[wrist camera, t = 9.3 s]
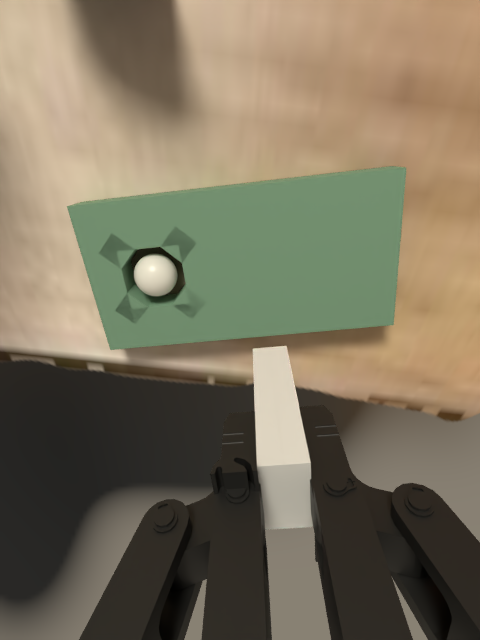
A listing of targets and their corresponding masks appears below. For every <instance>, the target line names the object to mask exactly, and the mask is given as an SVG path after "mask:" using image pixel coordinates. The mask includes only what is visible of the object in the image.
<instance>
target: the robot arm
mask: <svg viewBox="0 0 480 640" xmlns="http://www.w3.org/2000/svg"><path fill="white" fill-rule="evenodd" d="M253 370H254V399H255V411H251V412H238V413H230V414H229V416H228V417H227V419H226V421H225V422H224V427H223V440H222V453H221V459H220V460H218V461H217V462H216V464H215V465H214V466H213V468H212V471H211V474H210V475H211V479H212V485H213V490H214V491H213V492H212V493H211V494H210V495H208V496H207V497H206V498H204V499H202V500H200V501H198V502H195V503H192V504H190V505H187V506H185V505H184V504H183V503H182V502H181V501H178V500H175V499H168V500H164V501H161V502H158V503H157V504H155V505H154V506H152V507H151V508H150V509H149V510H148V511H147V513H146V514H145V515H144V517H143V519H142V521H141V523H140V525H139V527H138V529H137V530H136V532H135V534H134V536H133V538H132V540H131V542H130V544H129V546H128V548H127V549H126V551H125V553H124V555H123V557H122V559H121V561H120V563H119V565H118V566H117V569H116V570H115V572H114V574H113V576H112V578H111V580H110V582H109V584H108V586H107V588H106V589H105V591H104V593H103V595H102V597H101V599H100V601H99V603H98V605H97V606H96V608H95V610H94V612H93V614H92V616H91V618H90V620H89V622H88V624H87V626H86V627H85V629H84V631H83V633H82V635H81V637H80V639H79V640H184V638H185V635H186V632H187V629H188V626H189V622H190V619H191V616H192V613H193V610H194V607H195V603H196V600H197V597H198V594H199V591H200V588H201V584H202V581H203V580H205V579H207V584H206V597H205V608H204V618H203V630H202V640H272V635H271V617H270V599H269V581H268V564H267V547H266V538H265V530H267V529H268V530H269V529H286V528H304V527H314V532H315V555H316V556H315V557H316V558H315V559H316V562H318V565H319V571H320V577H321V583H322V589H323V594H324V600H325V606H326V612H327V617H328V623H329V629H330V635H331V640H413V638H412V636H411V633H410V630H409V627H408V624H407V621H406V618H405V615H404V612H403V609H402V606H401V603H400V600H399V597H398V594H397V591H396V588H395V586H394V582H393V580H394V581H395V583H396V585H397V586H398V588H399V590H400V592H401V593H402V595H403V597H404V599H405V600H406V602H407V604H408V605H409V607H410V609H411V611H412V612H413V614H414V616H415V618H416V619H417V621H418V623H419V625H420V626H421V628H422V630H423V632H424V633H425V635H426V637H427V638H428V640H480V542H479V541H478V540H477V539H476V538H475V536H474V535H473V534H472V533H471V532H470V531H469V530H468V528H467V527H466V526H465V525H464V524H463V523H462V521H461V520H460V519H459V518H458V517H457V516H456V514H455V513H454V512H453V511H452V510H451V509H450V508H449V506H448V505H447V504H446V503H445V502H444V501H443V499H442V498H441V497H440V496H439V495H438V494H436V493H435V492H434V491H433V490H431V489H429V488H427V487H425V486H423V485H418V484H414V483H408V484H402V485H400V486H399V487H397V488H396V489H395V490H394V492H388V491H384V490H379V489H375V488H372V487H369V486H367V485H365V484H364V483H362V482H361V481H360V480H358V479H357V478H356V477H355V476H354V474H353V473H352V471H351V469H350V467H349V464H348V461H347V457H346V454H345V451H344V448H343V445H342V442H341V439H340V436H339V433H338V430H337V427H336V424H335V421H334V418H333V415H332V413H331V412H330V411H329V410H328V409H327V408H326V407H325V406H324V405H319V406H306V407H299V404H298V399H297V395H296V390H295V385H294V380H293V375H292V370H291V366H290V361H289V356H288V351H287V346H278V347H266V348H255V349H253ZM391 576H392V577H391ZM392 578H393V579H392Z"/></svg>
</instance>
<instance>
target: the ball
mask: <svg viewBox="0 0 480 640" xmlns="http://www.w3.org/2000/svg"><path fill="white" fill-rule="evenodd" d="M177 277H178V274H177V269H176V266H175V265H174V263H173V262H172V261H171V260H170V259H169V258H168V257H166V256H164V255H162V254H149V255H146V256H144V257H143V258H141V259H140V260H139V261H138V263H137V264H136V266H135V269H134V279H135V282H136V284H137V286H138V288H139V289H140V290H141V291H142V292H144V293H146V294H148V295H150V296H162V295H165V294H167V293H169V292H170V291H171V290H172V289H173V288H174V286H175V284H176V282H177Z"/></svg>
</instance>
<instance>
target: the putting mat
mask: <svg viewBox="0 0 480 640" xmlns="http://www.w3.org/2000/svg"><path fill="white" fill-rule="evenodd" d="M405 178H406V168H405V167H396V166H390V167H381V168H372V169H364V170H355V171H346V172H338V173H329V174H320V175H312V176H303V177H294V178H286V179H277V180H268V181H260V182H251V183H242V184H234V185H225V186H216V187H208V188H199V189H190V190H182V191H173V192H164V193H156V194H147V195H138V196H130V197H121V198H112V199H104V200H95V201H86V202H80V203H77V204H74V205H70V206H67V208H68V211H69V215H70V218H71V221H72V225H73V228H74V231H75V235H76V238H77V241H78V244H79V248H80V251H81V254H82V258H83V261H84V264H85V267H86V271H87V274H88V277H89V281H90V284H91V287H92V291H93V294H94V297H95V300H96V304H97V307H98V310H99V314H100V317H101V320H102V324H103V327H104V330H105V333H106V337H107V340H108V343H109V347H110V350H114V349H126V348H137V347H149V346H160V345H171V344H183V343H194V342H206V341H217V340H228V339H240V338H251V337H263V336H274V335H285V334H297V333H308V332H319V331H331V330H342V329H354V328H365V327H376V326H388V325H394V312H395V300H396V288H397V276H398V263H399V251H400V239H401V227H402V214H403V202H404V190H405ZM154 247H161V248H162V249H164V250H165V251H166V252H168V253H169V254H170V255H172V256H173V257H174V258H176V259H177V260H179V261H180V262H181V263H182V267H183V272H184V278H185V283H186V284H185V285H184V286H183V288H182V289H181V290H180V291H179V293H178V294H170V295H162V296H150V295H148V294H146V293H144V292H142V291H141V290H140V289H139V288H138V286H137V284H136V282H135V279H134V271H133V267H132V263H131V259H132V258H133V256H134V255H135V253H136V252H137V250H138V249H144V248H154Z"/></svg>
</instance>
